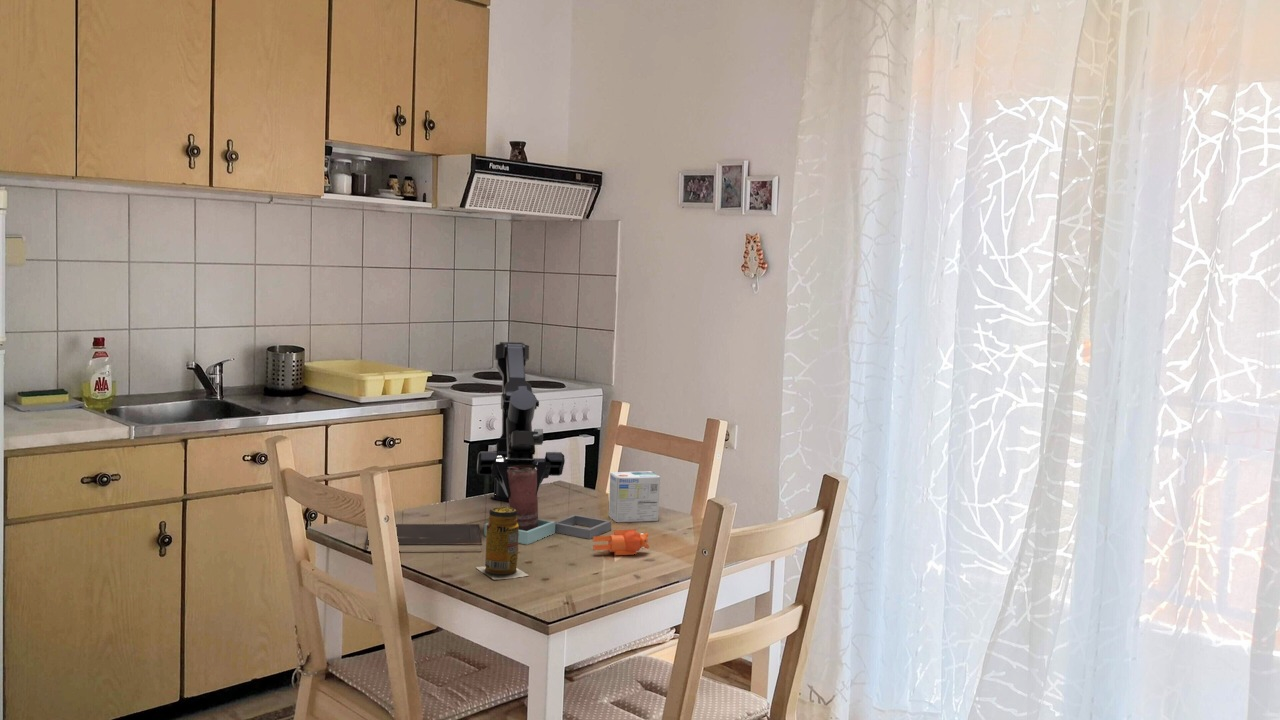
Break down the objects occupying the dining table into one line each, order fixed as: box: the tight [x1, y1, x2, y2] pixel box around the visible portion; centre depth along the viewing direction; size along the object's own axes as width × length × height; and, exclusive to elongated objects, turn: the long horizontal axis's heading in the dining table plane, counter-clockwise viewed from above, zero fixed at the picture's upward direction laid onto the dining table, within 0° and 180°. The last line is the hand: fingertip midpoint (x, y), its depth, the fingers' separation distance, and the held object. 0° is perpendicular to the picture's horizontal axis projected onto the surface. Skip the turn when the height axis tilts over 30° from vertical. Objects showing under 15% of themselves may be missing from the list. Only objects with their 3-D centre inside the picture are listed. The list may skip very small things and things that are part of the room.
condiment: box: [475, 506, 530, 581], centre depth 194 cm, size 7×8×12 cm
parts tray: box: [483, 518, 556, 546], centre depth 221 cm, size 11×11×3 cm
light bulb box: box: [608, 470, 661, 523], centre depth 240 cm, size 11×7×11 cm, turn 108°
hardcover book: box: [364, 523, 483, 553], centre depth 213 cm, size 16×23×2 cm
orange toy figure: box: [592, 529, 650, 556], centre depth 212 cm, size 5×8×12 cm
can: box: [508, 465, 539, 531], centre depth 221 cm, size 6×6×14 cm
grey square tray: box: [555, 513, 612, 540], centre depth 227 cm, size 10×10×2 cm
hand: (522, 496), depth 219 cm, fingers closed on can, 5 cm apart
